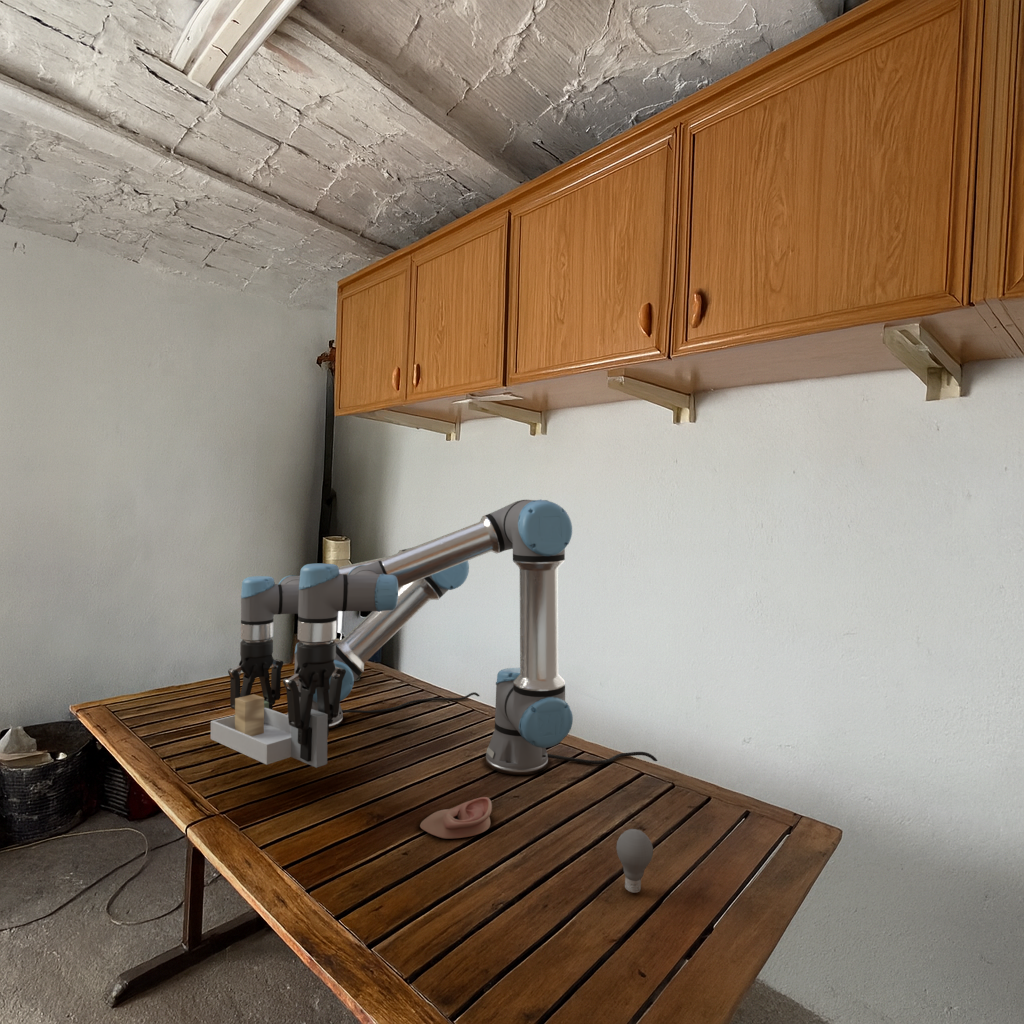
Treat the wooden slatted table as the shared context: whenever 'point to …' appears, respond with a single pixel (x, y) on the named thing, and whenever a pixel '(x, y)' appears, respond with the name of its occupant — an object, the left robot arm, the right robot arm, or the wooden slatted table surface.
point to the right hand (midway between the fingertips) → (312, 756)
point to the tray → (274, 738)
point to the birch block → (249, 715)
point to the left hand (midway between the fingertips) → (255, 732)
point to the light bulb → (634, 857)
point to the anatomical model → (460, 820)
